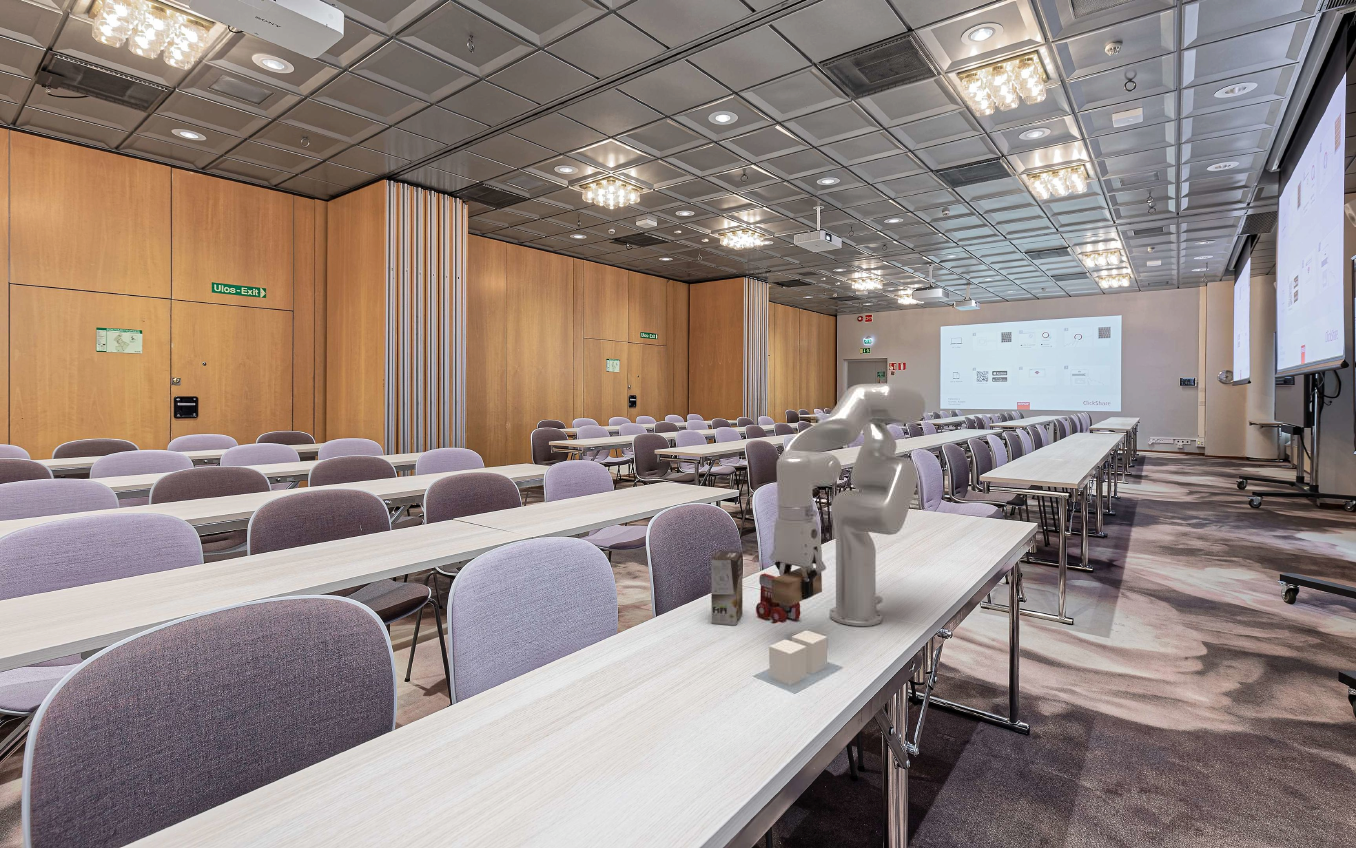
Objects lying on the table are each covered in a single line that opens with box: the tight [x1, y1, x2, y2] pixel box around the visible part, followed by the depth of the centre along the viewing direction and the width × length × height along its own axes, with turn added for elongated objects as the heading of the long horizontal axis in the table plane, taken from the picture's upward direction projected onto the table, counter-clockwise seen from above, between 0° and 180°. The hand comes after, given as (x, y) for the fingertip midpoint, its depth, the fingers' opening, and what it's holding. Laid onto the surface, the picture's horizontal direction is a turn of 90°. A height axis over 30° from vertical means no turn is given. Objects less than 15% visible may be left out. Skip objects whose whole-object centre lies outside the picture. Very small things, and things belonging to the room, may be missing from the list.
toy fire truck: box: [755, 573, 802, 624], centre depth 153 cm, size 7×12×10 cm, turn 38°
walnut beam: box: [772, 567, 823, 606], centre depth 135 cm, size 12×4×5 cm, turn 133°
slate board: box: [752, 661, 844, 695], centre depth 121 cm, size 16×10×1 cm, turn 133°
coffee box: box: [710, 550, 744, 626], centre depth 154 cm, size 9×6×16 cm
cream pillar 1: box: [768, 639, 806, 686], centre depth 118 cm, size 5×5×6 cm
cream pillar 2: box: [791, 629, 828, 674], centre depth 123 cm, size 5×5×6 cm
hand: (797, 594), depth 135 cm, fingers closed on walnut beam, 4 cm apart
